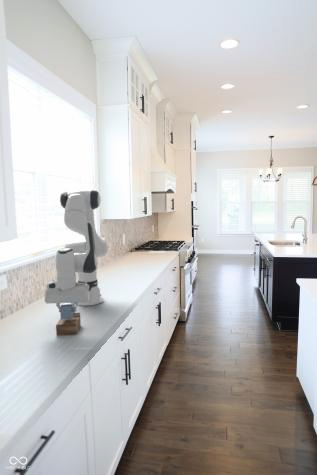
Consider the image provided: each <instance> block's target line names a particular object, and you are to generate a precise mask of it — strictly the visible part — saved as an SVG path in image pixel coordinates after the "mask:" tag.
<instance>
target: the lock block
mask: <svg viewBox="0 0 317 475" xmlns="http://www.w3.org/2000/svg"><path fill="white" fill-rule="evenodd" d="M75 306H76V305H75V303H61V304H60V312H59V313H60V314H59V315H60V318H61V319H72V318H73V316H74V314H75V312H73V307H75Z"/></svg>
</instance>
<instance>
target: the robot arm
mask: <svg viewBox="0 0 317 475" xmlns="http://www.w3.org/2000/svg"><path fill="white" fill-rule="evenodd" d="M59 197H60V198H59V201H60V202H59V203H60V206H61V207H62V208H63V209H64V215H63V222H64V224H65V226H66V227H67V229H69V230H71V231H72V232H74V233H77V234H79V235H81V236H83V237H84V239H73V240H70V241H67V242H66V244H65V246H64V247H63V248H62V247H61V248H60V249H58V250H57V251H56V254H55V255H56V256H55V270H56V279H53V280H50V281H49V282H47V284H46V290H45V292H44V302H45V304H55V306H56V307H57V309H58V313H60V306H61V304H63V303H75V307H73V312H78V311H77V310H78V309H77V308H78V306H83V307H84V306H86V307H87V306H94V305H98V304H101V303H104V302H105V300H104V297H103V295H102V294H101V289H100V287H99V281H98V276H97V269H98V265H99V263H98V258H100V257H104V256H106V255H107V253H108V250H109V246H108V244H107V243H108V242H106V241H105V240H104V239H102V238H101V237H100V235H99V234H98V233H97V230H96V226H95V225H96V224H95V213H94V212H95V211H94V210H96V209H97V208H99V207H100V204H101V200H102V198H101V195H100V193H99V191H97V190H94V189H74V190H72V189H71V190H69V189H68V190H63V191H62V192H61V193H60V196H59ZM77 275H78V276H77ZM77 278H78V279H77Z"/></svg>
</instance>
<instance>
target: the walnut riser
mask: <svg viewBox="0 0 317 475" xmlns="http://www.w3.org/2000/svg"><path fill="white" fill-rule="evenodd" d="M81 324H82V323H81V311H76V312H75V314H74V316H73V318H72V319H61V317H60V319H59V320H58V321H57V323H56V325H55V330H56V332H55V333H56V336H75V335H77V333H78V332H79V330H80V328H81Z"/></svg>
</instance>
